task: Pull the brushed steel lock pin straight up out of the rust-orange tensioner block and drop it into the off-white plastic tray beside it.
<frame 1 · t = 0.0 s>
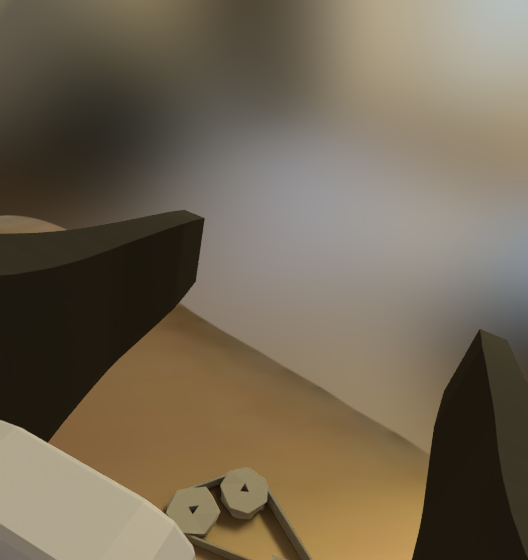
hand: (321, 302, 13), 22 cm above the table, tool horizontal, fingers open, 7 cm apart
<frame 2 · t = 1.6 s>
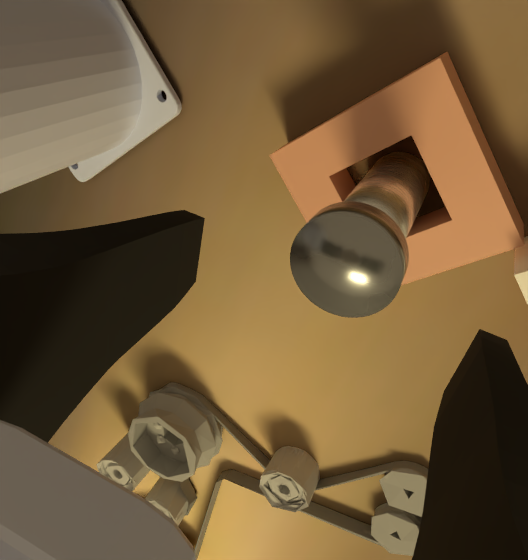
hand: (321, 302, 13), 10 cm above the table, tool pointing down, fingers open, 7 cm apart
tensioner block: (399, 181, 20), on the table
pulley system: (231, 462, 35), on the table
lock pin: (376, 216, 17), in the tensioner block
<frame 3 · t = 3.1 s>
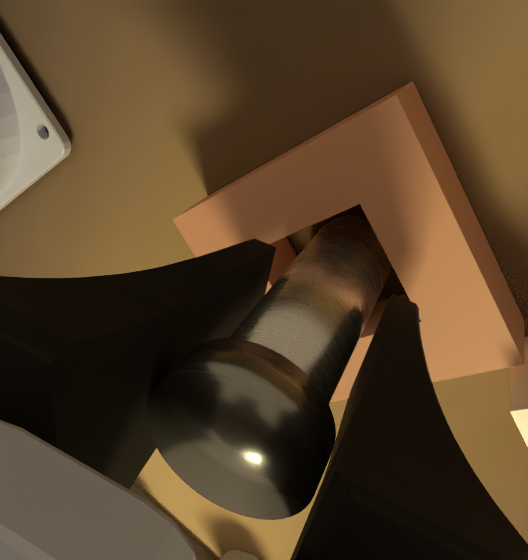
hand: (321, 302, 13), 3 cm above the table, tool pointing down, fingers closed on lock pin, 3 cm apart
tensioner block: (352, 253, 15), on the table
pulley system: (178, 555, 29), on the table
lock pin: (307, 325, 12), in the tensioner block, touching gripper
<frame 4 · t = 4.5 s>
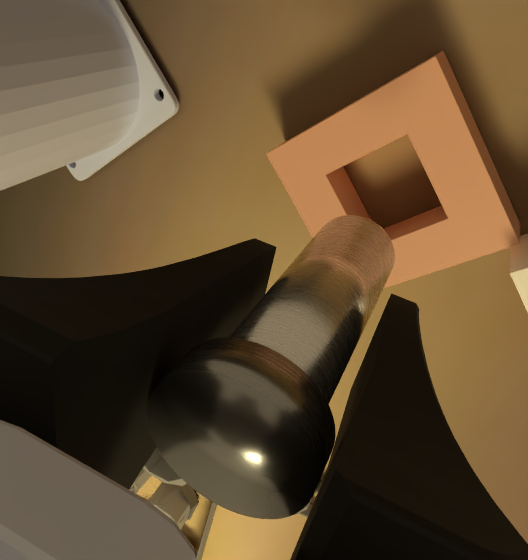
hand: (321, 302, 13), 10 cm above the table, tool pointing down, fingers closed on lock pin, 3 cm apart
tensioner block: (395, 180, 20), on the table
pulley system: (232, 466, 35), on the table
lock pin: (307, 325, 12), point 11 cm above the table, touching gripper
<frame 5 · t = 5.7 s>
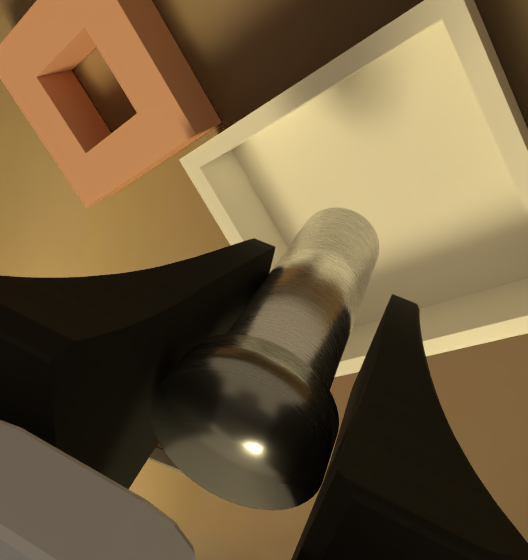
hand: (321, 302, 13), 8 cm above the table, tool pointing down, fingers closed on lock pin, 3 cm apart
tray: (386, 199, 19), on the table
tensioner block: (118, 86, 21), on the table
pulley system: (72, 407, 36), on the table
lock pin: (300, 317, 12), point 9 cm above the table, touching gripper
when the fingers open (5 cm above the table, at t = 6.4 s): lock pin drops 2 cm, resting on tray.
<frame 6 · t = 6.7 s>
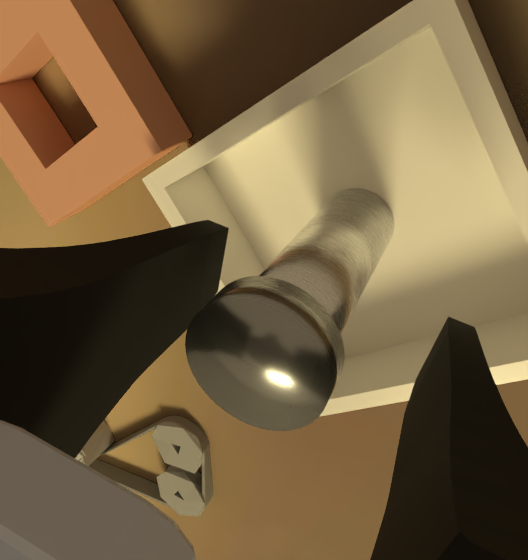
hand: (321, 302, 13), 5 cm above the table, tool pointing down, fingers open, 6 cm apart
tray: (373, 222, 17), on the table
tensioner block: (81, 95, 19), on the table
pulley system: (50, 431, 34), on the table
lock pin: (317, 278, 13), in the tray
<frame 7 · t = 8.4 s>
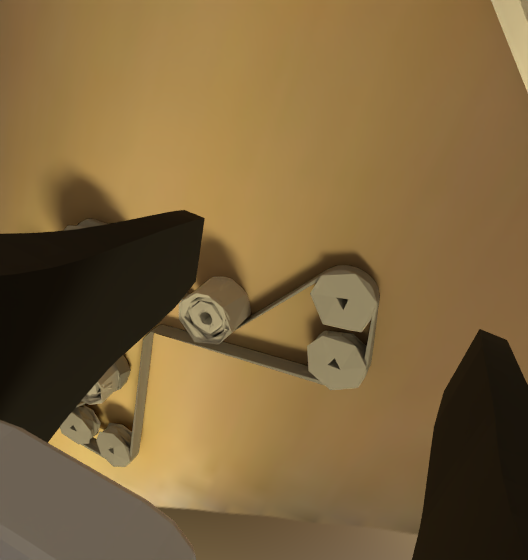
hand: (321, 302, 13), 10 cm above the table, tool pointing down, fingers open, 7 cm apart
pulley system: (162, 320, 31), on the table
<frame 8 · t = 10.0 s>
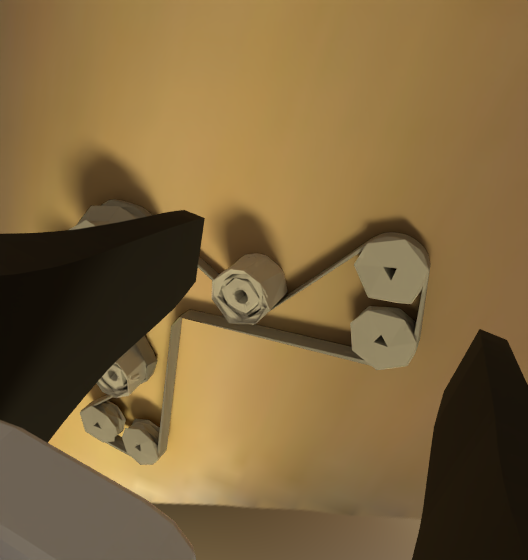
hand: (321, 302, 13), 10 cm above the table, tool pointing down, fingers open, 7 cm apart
pulley system: (190, 305, 29), on the table
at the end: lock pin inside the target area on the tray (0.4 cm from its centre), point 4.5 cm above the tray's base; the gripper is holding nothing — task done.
